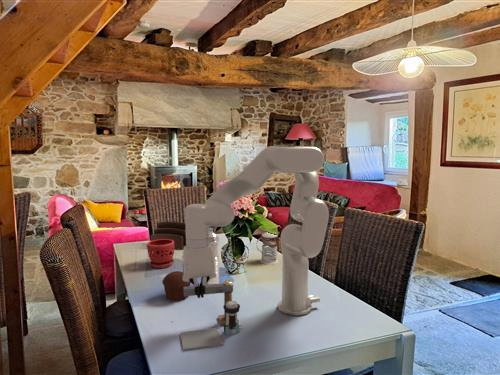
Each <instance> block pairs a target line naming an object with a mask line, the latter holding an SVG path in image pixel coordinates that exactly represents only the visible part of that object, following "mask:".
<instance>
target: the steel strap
mask: <svg viewBox="0 0 500 375" xmlns="http://www.w3.org/2000/svg"><path fill="white" fill-rule="evenodd" d="M233 282H234V281H232V280H230V279H226V280H224V281H223V283H219V284H210V285H205V294H204V295H212V294H213V295H214V294H224V293H226V292H232V293H234V284H233ZM199 286H200V284H199ZM184 296H188V297H193V296H196V295H195V286H194V285H190V286H187V287H184Z"/></svg>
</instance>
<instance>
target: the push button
mask: <svg viewBox="0 0 500 375" xmlns="http://www.w3.org/2000/svg"><path fill="white" fill-rule="evenodd" d="M240 308H241V305H240V304H239V303H238V302H237V301H236V300H232V301H228V302H227V303H226V304H225V305H223V309H224V311H225V312H226V324H224V326H223V333H224V334H225V336H229V335H235V334H237V333H240V330H243V329H244V328H243V327H244V325H243V324H240V323H239V324H238V321H237V319H238V313H239V312H240Z"/></svg>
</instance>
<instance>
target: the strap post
mask: <svg viewBox="0 0 500 375" xmlns="http://www.w3.org/2000/svg"><path fill="white" fill-rule="evenodd" d="M223 295H224V296H223V299H224V300H223V301H224V302H223V303H224V305H225V304H226V303H227V302H228V301H233V292H226V293H223ZM224 305H223V306H224ZM217 319H218V321H219V323H220V326H221V327H222V326H223V327H224V324H226V312H225V311H224V314H218V315H217ZM237 321H238V324H239V325H240V322H239V319H238V318H237Z"/></svg>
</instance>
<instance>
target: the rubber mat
mask: <svg viewBox="0 0 500 375" xmlns="http://www.w3.org/2000/svg"><path fill="white" fill-rule="evenodd" d="M220 334H221V333H220V332H219V330H218V328H217V327H213V328H205V329H198V330H190V331H183V332H182V331H181V332H180V333H179V335H180V336H179V337H180V341H181V345H182V349H183V350H182V351H184V352H185V351H191V350H198V349H199V350H200V349H204V348H205V349H206V348H212V347H220V346H223V345H224V342H223V340H222V336H221V335H220Z"/></svg>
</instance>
